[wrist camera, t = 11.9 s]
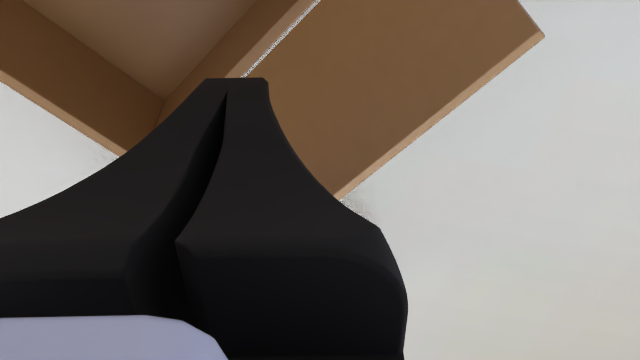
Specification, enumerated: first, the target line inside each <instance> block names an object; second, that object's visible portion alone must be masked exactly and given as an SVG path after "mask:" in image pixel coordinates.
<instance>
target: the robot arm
mask: <svg viewBox="0 0 640 360" xmlns="http://www.w3.org/2000/svg"><path fill="white" fill-rule="evenodd" d="M407 315H408V300H407V293H406V289H405V285H404V282H403V279H402V276H401V273H400V270H399V268H398V265H397V263H396V260H395V258H394V256H393V254H392V251H391V249H390V247H389V245H388V243H387V241H386V239H385V237H384V235H383V233H382V231H381V230H380V228H379V227H377V226H376V225H374V224H373V223H371V222H370V221H368V220H366V219H365V218H363V217H361V216H360V215H358V214H356V213H355V212H353V211H352V210H350V209H349V208H347V207H346V206H344V205H343V204H342V203H341V202H339V201H338V200H337V199H336V198H335V197H334V196H333V195H332V194H331V193H330V192H329V191H328V190H327V189H326V188H325V187H324V186H322V185H321V184H320V183H319V182H318V181H317V179H316V178H315V177H314V176H313V175H312V174H311V172H310V171H309V170H308V169H307V168H306V166H305V165H304V164H303V162H302V161H301V160H300V159H299V157H298V156H297V154H296V153H295V151H294V150H293V148H292V147H291V145H290V143H289V141H288V140H287V138H286V136H285V135H284V133H283V131H282V129H281V127H280V125H279V122H278V120H277V118H276V116H275V114H274V111H273V108H272V105H271V102H270V97H269V83H268V81H266V80H265V79H264V78H263V77H254V78H206V79H205V80H204V81H203V82H202V83H201V84H200V85H199V86H198V87H197V88H196V89H195V90H194V91H193V92H192V93H191V94H190V95H189V96H188V97H187V98H186V99H185V100H184V101H183V102H182V103H181V104H180V105H179V106H178V107H177V108H176V109H175V110H174V111H173V112H172V113H171V114H170V115H169V116H168V117H167V118H166V119H165V120H164V121H163V122H162V123H161V124H160V125H159V126H157V127H156V128H155V129H154V130H153V131H152V132H150V133H149V134H148V135H147V136H146V137H145V138H143V139H142V140H141V141H140V142H139V143H138V144H136V145H135V146H134V147H133V148H131V149H130V150H129V151H127V152H126V153H125V154H123V155H122V156H121V157H119V158H118V159H116V160H115V161H113V162H112V163H110V164H109V165H107V166H106V167H104V168H103V169H101V170H100V171H98V172H96V173H94V174H93V175H91V176H89V177H87V178H86V179H84V180H82V181H80V182H78V183H77V184H75V185H73V186H71V187H70V188H68V189H66V190H64V191H62V192H60V193H58V194H56V195H54V196H52V197H50V198H48V199H46V200H43V201H41V202H39V203H37V204H34V205H32V206H30V207H27V208H25V209H23V210H20V211H18V212H15V213H13V214H10V215H8V216H5V217H2V218H0V360H404V355H403V348H404V340H405V331H406V323H407Z"/></svg>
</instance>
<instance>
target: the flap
mask: <svg viewBox="0 0 640 360" xmlns="http://www.w3.org/2000/svg"><path fill="white" fill-rule="evenodd" d="M544 37H545V35H544V33H543V32H542V31H541V30H540V28H539V27H538V26H537V24H536V23H535V22H534V21H533V19H532V18H531V17H530V15H529V14H528V13H527V12H526V10H525V9H524V8H523V6H522V5H521V4H520V3H519V1H518V0H321V1H320V2H319V3H318V4H317V5H316V6H315V7H314V8H313V9H312V10H311V11H310V12H309V13H308V14H307V15H306V16H305V17H304V18H303V19H302V20H301V21H300V23H299V24H298V25H297V26H296V27H295V28H294V29H293V30H292V31H291V32H290V33H289V34H288V35H287V36H286V37H285V38H284V39H283V40H282V41H281V42H280V43H279V44H278V45H277V46H276V47H275V48H274V49H273V50H272V51H271V52H270V53H269V54H268V55H267V56H266V57H265V58H264V59H263V60H262V61H261V62H260V63H259V64H258V65H257V66H256V67H255V68H254V69H253V70H252V71H251V72H250V73H249V74H248V76H247V77H246V78H254V77H263V78H264V79H265V80H266V81H268V83H269V97H270V102H271V105H272V108H273V111H274V114H275V116H276V118H277V120H278V122H279V125H280V127H281V129H282V131H283V133H284V135H285V136H286V138H287V140H288V141H289V143H290V145H291V147H292V148H293V150H294V151H295V153H296V154H297V156H298V157H299V159H300V160H301V161H302V162H303V164H304V165H305V166H306V168H307V169H308V170H309V171H310V172H311V174H312V175H313V176H314V177H315V178H316V179H317V181H318V182H319V183H320V184H321V185H322V186H324V187H325V188H326V189H327V190H328V191H329V192H330V193H331V194H332V195H333V196H334V197H335V198H336V199H337V200H338V201H339V200H340V199H341V198H343V197H344V196H345V195H346V194H348V193H349V192H350V191H351V190H353V189H354V188H355V187H356V186H358V185H359V184H360V183H361V182H363V181H364V180H365V179H367V178H368V177H369V176H370V175H372V174H373V173H374V172H375V171H377V170H378V169H379V168H380V167H382V166H383V165H384V164H385V163H387V162H388V161H389V160H391V159H392V158H393V157H394V156H396V155H397V154H398V153H399V152H401V151H402V150H403V149H404V148H406V147H407V146H408V145H410V144H411V143H412V142H413V141H415V140H416V139H417V138H418V137H420V136H421V135H422V134H423V133H425V132H426V131H427V130H428V129H430V128H431V127H432V126H434V125H435V124H436V123H437V122H439V121H440V120H441V119H442V118H444V117H445V116H446V115H447V114H449V113H450V112H451V111H452V110H454V109H455V108H456V107H458V106H459V105H460V104H461V103H463V102H464V101H465V100H466V99H468V98H469V97H470V96H471V95H473V94H474V93H475V92H476V91H478V90H479V89H480V88H482V87H483V86H484V85H485V84H487V83H488V82H489V81H490V80H492V79H493V78H494V77H495V76H497V75H498V74H499V73H500V72H502V71H503V70H504V69H506V68H507V67H508V66H509V65H511V64H512V63H513V62H514V61H516V60H517V59H518V58H519V57H521V56H522V55H523V54H524V53H526V52H527V51H528V50H530V49H531V48H532V47H533V46H535V45H536V44H537V43H538V42H540V41H541V40H542V39H543V38H544Z"/></svg>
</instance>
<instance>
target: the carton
mask: <svg viewBox="0 0 640 360" xmlns="http://www.w3.org/2000/svg"><path fill="white" fill-rule="evenodd" d="M315 1H316V0H0V81H1V82H2V83H4V84H5V85H7V86H9V87H10V88H12V89H13V90H15V91H16V92H18V93H20V94H21V95H23V96H24V97H26V98H27V99H29V100H31V101H32V102H34V103H35V104H37V105H39V106H40V107H42V108H43V109H45V110H46V111H48V112H50V113H51V114H53V115H54V116H56V117H57V118H59V119H61V120H62V121H64V122H65V123H67V124H69V125H70V126H72V127H73V128H75V129H76V130H78V131H80V132H81V133H83V134H84V135H86V136H87V137H89V138H91V139H92V140H94V141H95V142H97V143H99V144H100V145H102V146H103V147H105V148H106V149H108V150H110V151H111V152H113V153H114V154H116V155H117V156H119V157H121V156H122V155H123V154H125V153H126V152H127V151H129V150H130V149H131V148H133V147H134V146H135V145H136V144H138V143H139V142H140V141H141V140H142V139H143V138H145V137H146V136H147V135H148V134H149V133H150V132H152V131H153V130H154V129H155V128H156V127H157V126H159V125H160V124H161V123H162V122H163V121H164V120H165V119H166V118H167V117H168V116H169V115H170V114H171V113H172V112H173V111H174V110H175V109H176V108H177V107H178V106H179V105H180V104H181V103H182V102H183V101H184V100H185V99H186V98H187V97H188V96H189V95H190V94H191V93H192V92H193V91H194V90H195V89H196V88H197V87H198V86H199V85H200V84H201V83H202V82H203V81H204V80H205V79H206V78H241V76H242V75H243V74H244V73H245V72H246V71H247V70H248V69H249V68H250V67H251V66H252V65H253V64H254V63H255V62H256V61H257V60H258V59H259V58H260V57H261V56H262V55H263V54H264V53H265V52H266V51H267V50H268V49H269V48H270V47H271V46H272V45H273V44H274V43H275V42H276V41H277V40H278V39H279V38H280V37H281V35H282V34H283V33H284V32H285V31H286V30H287V29H288V28H289V27H290V26H291V25H292V24H293V23H294V22H295V21H296V20H297V19H298V18H299V17H300V16H301V15H302V14H303V13H304V12H305V11H306V10H307V9H308V8H309V7H310V6H311V5H312V4H313V3H314V2H315Z"/></svg>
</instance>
